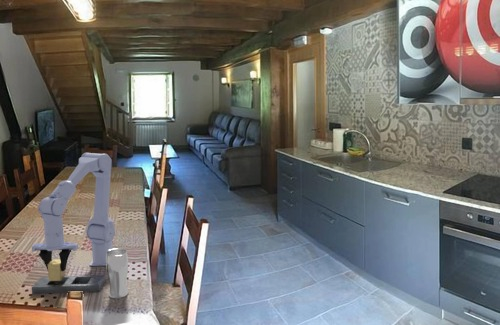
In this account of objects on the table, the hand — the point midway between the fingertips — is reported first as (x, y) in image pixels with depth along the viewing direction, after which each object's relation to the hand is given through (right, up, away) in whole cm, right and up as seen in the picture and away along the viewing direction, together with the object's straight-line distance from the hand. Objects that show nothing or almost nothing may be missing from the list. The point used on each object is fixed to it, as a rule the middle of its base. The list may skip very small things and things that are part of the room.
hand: (56, 270), depth 137 cm
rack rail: (+4, -6, +1) cm, 8 cm away
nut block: (0, -3, 0) cm, 3 cm away
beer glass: (+22, -7, -3) cm, 24 cm away
